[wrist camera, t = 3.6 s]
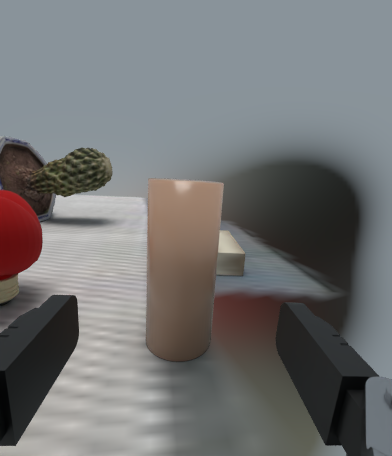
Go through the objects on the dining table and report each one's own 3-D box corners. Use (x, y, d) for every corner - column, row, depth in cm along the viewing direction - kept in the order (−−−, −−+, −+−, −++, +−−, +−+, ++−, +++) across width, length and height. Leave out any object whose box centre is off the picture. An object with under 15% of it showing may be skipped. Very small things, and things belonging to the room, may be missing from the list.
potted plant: (-97, 142, 40) (81, 110, 41) (-12, 155, 58) (111, 132, 58) (-57, 243, 43) (107, 211, 44) (12, 225, 61) (129, 203, 62)
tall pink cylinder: (140, 361, 16) (142, 179, 14) (150, 317, 21) (153, 177, 18) (214, 362, 16) (230, 185, 14) (207, 318, 21) (218, 181, 19)
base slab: (148, 272, 30) (149, 249, 30) (158, 244, 42) (159, 227, 41) (242, 275, 31) (245, 253, 30) (226, 247, 43) (228, 230, 42)
